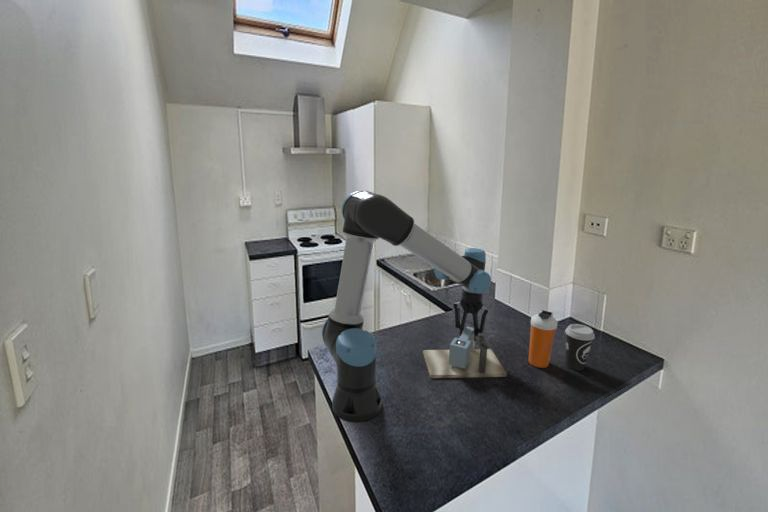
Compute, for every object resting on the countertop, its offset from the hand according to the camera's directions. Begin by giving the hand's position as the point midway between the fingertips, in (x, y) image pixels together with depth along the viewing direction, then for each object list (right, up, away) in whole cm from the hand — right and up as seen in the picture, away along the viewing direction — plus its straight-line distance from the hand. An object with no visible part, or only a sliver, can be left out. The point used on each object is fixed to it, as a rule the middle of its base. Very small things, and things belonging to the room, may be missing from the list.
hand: (467, 346), depth 145 cm
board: (-4, -5, -7) cm, 9 cm away
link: (-3, -2, -5) cm, 7 cm away
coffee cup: (+38, -6, -7) cm, 39 cm away
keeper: (+2, -6, -11) cm, 13 cm away
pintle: (-5, -6, -9) cm, 12 cm away
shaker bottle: (+25, -5, -5) cm, 26 cm away
